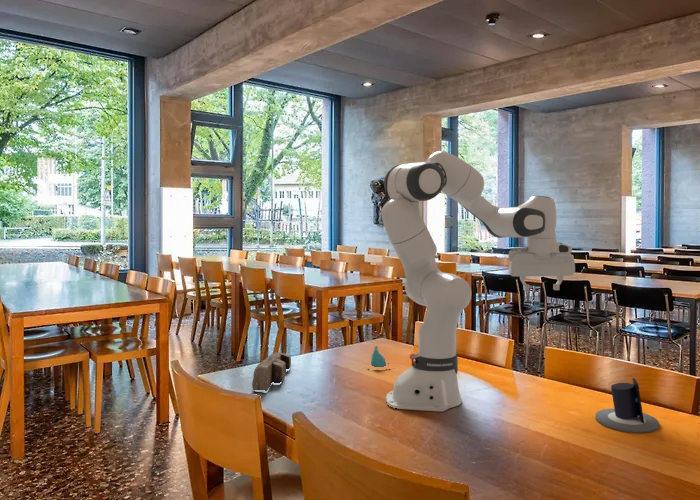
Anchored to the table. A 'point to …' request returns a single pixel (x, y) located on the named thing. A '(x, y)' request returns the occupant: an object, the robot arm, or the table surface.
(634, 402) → the speaker
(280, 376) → the sculpture
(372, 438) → the table surface
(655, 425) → the speaker stand
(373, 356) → the teal tapered piece
